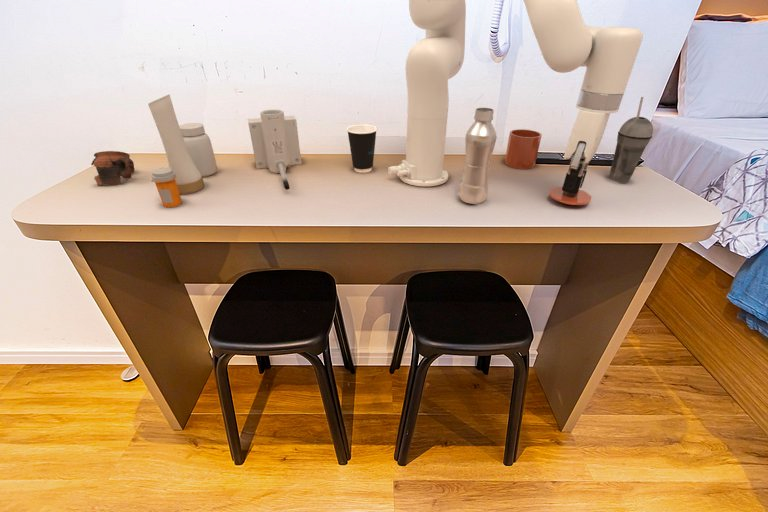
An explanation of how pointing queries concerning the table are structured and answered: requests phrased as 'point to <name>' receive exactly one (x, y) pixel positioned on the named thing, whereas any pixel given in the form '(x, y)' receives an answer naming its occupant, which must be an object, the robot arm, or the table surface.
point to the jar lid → (570, 196)
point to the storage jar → (522, 148)
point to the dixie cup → (362, 146)
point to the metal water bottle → (478, 157)
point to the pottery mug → (112, 167)
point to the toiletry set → (180, 154)
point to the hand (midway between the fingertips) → (571, 188)
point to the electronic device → (275, 142)
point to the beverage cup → (630, 147)
